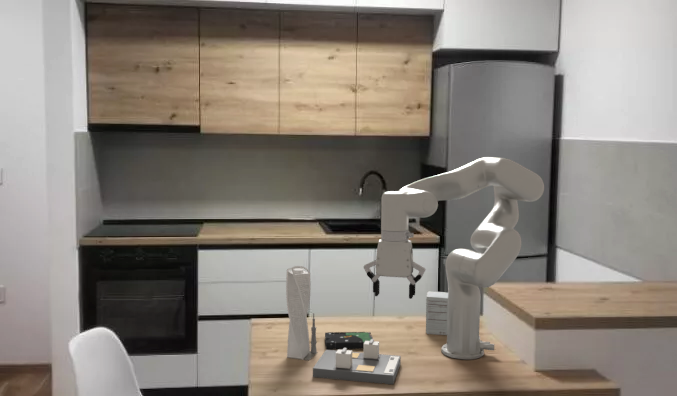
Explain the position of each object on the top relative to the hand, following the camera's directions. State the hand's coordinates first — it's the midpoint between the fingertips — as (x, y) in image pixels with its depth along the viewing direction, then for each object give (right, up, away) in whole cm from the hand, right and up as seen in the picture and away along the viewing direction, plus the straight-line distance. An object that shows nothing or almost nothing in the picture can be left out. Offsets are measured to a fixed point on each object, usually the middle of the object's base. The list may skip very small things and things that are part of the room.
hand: (393, 296), depth 183 cm
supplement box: (+17, -17, +35) cm, 42 cm away
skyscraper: (-27, -20, +11) cm, 35 cm away
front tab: (-14, -18, -5) cm, 24 cm away
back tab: (-6, -18, +3) cm, 19 cm away
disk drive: (-12, -19, +22) cm, 31 cm away
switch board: (-10, -21, -1) cm, 23 cm away
